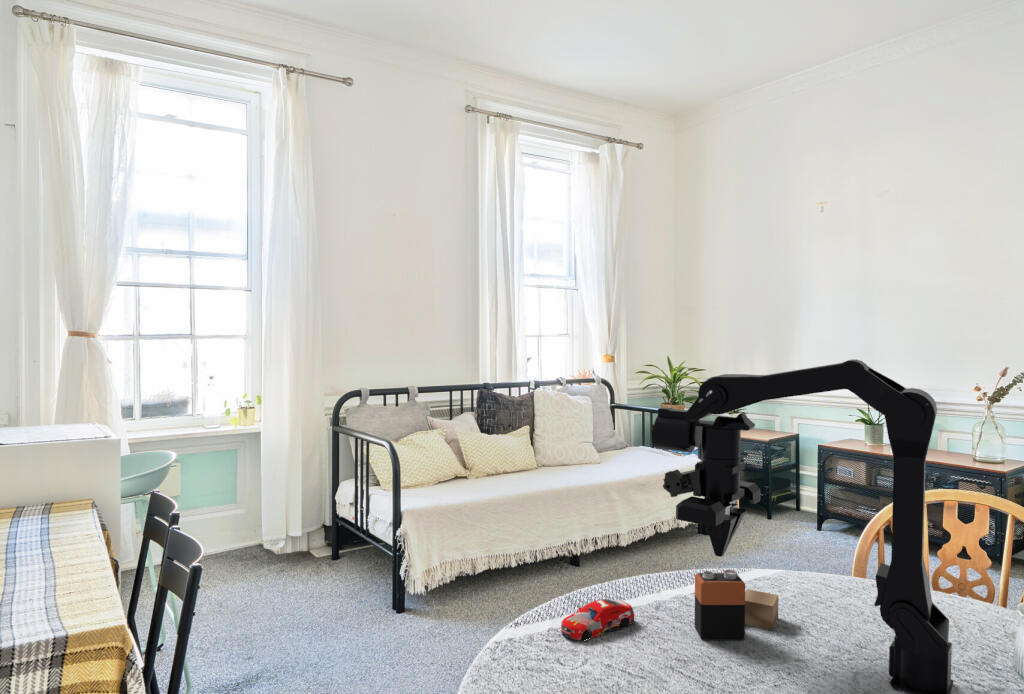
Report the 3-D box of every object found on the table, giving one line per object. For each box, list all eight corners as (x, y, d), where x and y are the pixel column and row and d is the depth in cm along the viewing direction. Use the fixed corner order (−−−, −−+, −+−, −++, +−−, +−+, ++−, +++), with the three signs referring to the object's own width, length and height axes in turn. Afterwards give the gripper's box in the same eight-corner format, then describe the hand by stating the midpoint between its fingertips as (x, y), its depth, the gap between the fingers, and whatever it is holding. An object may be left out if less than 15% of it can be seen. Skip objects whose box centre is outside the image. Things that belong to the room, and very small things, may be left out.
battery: (745, 641, 105) (746, 577, 104) (701, 641, 105) (701, 577, 104) (736, 628, 109) (737, 566, 108) (693, 628, 109) (694, 566, 109)
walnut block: (778, 618, 113) (778, 595, 112) (772, 631, 108) (773, 606, 108) (746, 612, 115) (747, 589, 115) (740, 623, 111) (740, 599, 111)
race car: (574, 647, 104) (574, 621, 103) (553, 633, 108) (553, 608, 108) (640, 626, 110) (640, 601, 110) (618, 613, 115) (618, 590, 115)
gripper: (697, 441, 118) (696, 530, 119) (644, 458, 104) (643, 560, 104) (762, 449, 111) (760, 544, 111) (715, 469, 96) (713, 578, 97)
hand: (719, 555), depth 106 cm, fingers closed
